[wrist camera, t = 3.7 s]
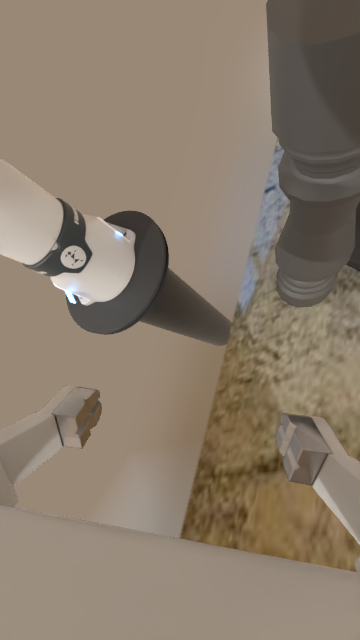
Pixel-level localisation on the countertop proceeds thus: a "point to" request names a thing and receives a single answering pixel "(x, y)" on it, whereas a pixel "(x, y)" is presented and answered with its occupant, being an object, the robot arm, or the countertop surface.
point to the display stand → (356, 243)
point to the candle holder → (315, 139)
